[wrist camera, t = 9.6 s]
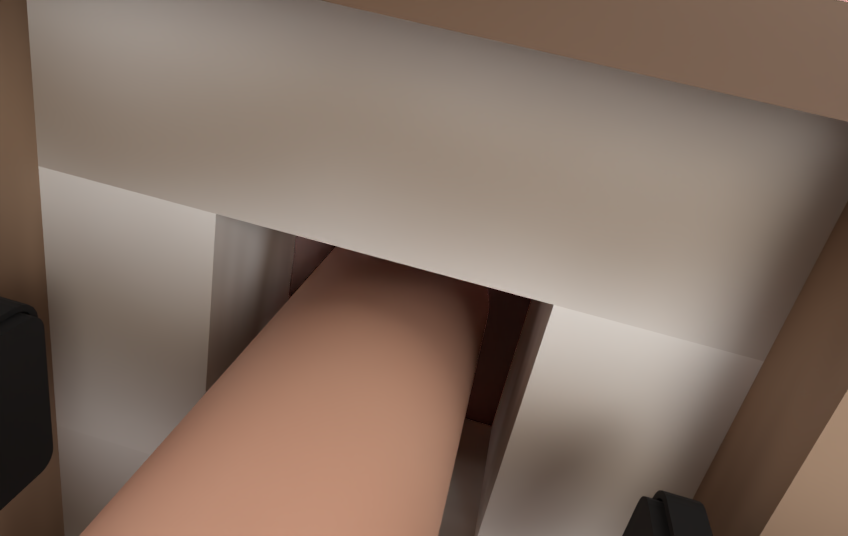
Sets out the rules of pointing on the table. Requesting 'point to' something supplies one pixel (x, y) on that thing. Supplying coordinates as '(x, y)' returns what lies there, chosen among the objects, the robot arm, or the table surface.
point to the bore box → (451, 232)
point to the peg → (323, 416)
